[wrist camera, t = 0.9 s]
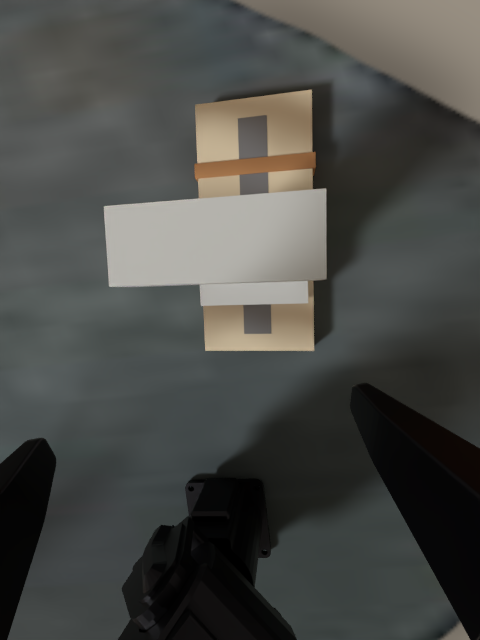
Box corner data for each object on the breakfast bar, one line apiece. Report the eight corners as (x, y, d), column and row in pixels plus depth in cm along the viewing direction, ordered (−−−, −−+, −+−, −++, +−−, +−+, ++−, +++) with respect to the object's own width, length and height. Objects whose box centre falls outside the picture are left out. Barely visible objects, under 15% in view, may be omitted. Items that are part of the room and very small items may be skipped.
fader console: (315, 346, 24) (317, 351, 22) (207, 347, 25) (202, 350, 24) (313, 102, 22) (315, 88, 21) (198, 116, 24) (191, 104, 22)
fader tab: (306, 301, 22) (326, 319, 9) (208, 304, 23) (111, 322, 11) (305, 228, 21) (325, 144, 9) (205, 234, 22) (100, 167, 10)
